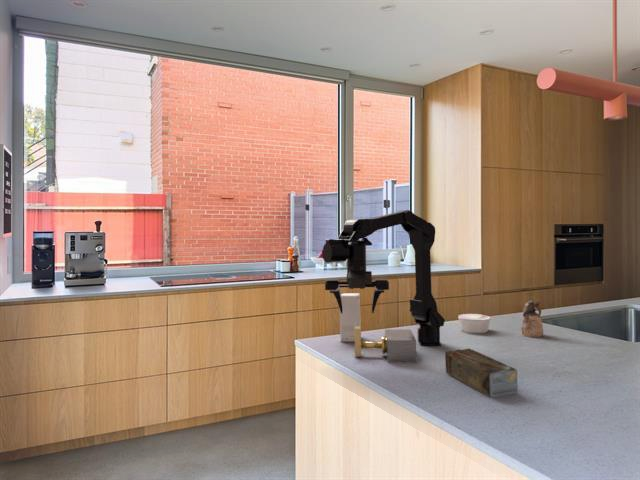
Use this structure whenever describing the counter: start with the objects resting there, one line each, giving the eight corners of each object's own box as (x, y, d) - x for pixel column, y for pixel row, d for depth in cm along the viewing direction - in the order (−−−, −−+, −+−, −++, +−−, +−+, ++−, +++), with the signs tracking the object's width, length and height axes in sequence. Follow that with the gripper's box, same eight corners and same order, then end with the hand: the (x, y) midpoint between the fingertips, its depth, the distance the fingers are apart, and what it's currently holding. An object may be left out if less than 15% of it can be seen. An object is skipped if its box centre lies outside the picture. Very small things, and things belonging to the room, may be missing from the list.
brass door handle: (402, 352, 146) (402, 326, 145) (404, 357, 140) (403, 329, 140) (354, 352, 147) (354, 326, 146) (354, 356, 141) (354, 330, 141)
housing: (410, 349, 150) (410, 329, 150) (416, 362, 136) (416, 340, 136) (384, 349, 150) (384, 329, 150) (387, 362, 136) (387, 340, 136)
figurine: (525, 331, 171) (525, 298, 171) (546, 334, 166) (546, 300, 166) (517, 335, 166) (517, 300, 166) (538, 338, 161) (538, 302, 161)
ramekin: (495, 334, 169) (494, 319, 169) (463, 334, 169) (463, 319, 169) (484, 327, 180) (484, 313, 180) (454, 327, 180) (454, 313, 180)
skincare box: (358, 342, 160) (357, 296, 160) (339, 341, 162) (338, 295, 161) (361, 336, 169) (360, 292, 168) (342, 336, 170) (342, 292, 169)
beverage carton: (489, 399, 108) (489, 370, 107) (443, 374, 126) (443, 349, 126) (519, 394, 110) (518, 366, 110) (470, 371, 128) (469, 346, 128)
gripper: (323, 263, 136) (324, 318, 136) (389, 262, 134) (390, 318, 135) (326, 260, 147) (326, 311, 147) (387, 260, 145) (387, 311, 146)
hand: (357, 313), depth 143 cm, fingers open, 9 cm apart
